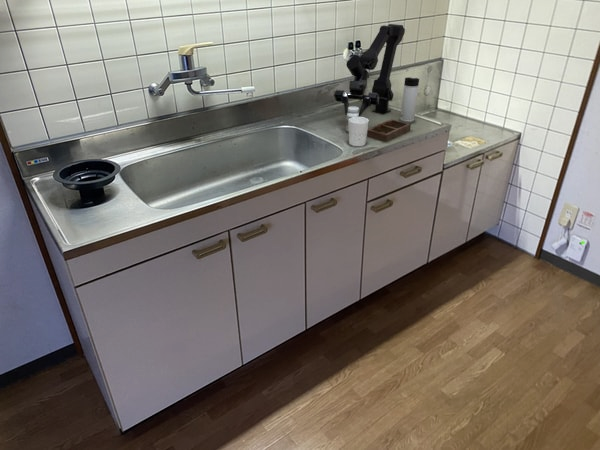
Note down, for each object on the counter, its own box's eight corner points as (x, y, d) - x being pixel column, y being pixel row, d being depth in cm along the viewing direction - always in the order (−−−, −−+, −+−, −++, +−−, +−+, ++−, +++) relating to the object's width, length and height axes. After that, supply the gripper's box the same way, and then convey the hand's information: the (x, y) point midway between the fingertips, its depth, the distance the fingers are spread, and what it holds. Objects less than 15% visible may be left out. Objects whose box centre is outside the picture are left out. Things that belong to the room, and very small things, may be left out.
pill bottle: (361, 129, 201) (362, 107, 196) (354, 133, 197) (355, 110, 192) (350, 127, 204) (351, 104, 198) (343, 130, 200) (344, 108, 195)
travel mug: (398, 122, 211) (403, 78, 200) (401, 118, 216) (406, 74, 206) (412, 124, 209) (418, 79, 198) (415, 120, 214) (420, 75, 204)
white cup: (356, 138, 195) (357, 115, 189) (370, 143, 190) (372, 119, 185) (343, 143, 190) (344, 119, 185) (358, 148, 185) (360, 124, 180)
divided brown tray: (391, 125, 208) (391, 118, 207) (410, 130, 202) (411, 124, 201) (366, 136, 197) (366, 129, 195) (385, 142, 191) (386, 135, 189)
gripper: (335, 70, 193) (327, 104, 191) (380, 73, 188) (372, 108, 185) (339, 84, 204) (332, 116, 201) (381, 87, 199) (374, 121, 196)
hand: (352, 115), depth 196 cm, fingers closed on pill bottle, 5 cm apart
